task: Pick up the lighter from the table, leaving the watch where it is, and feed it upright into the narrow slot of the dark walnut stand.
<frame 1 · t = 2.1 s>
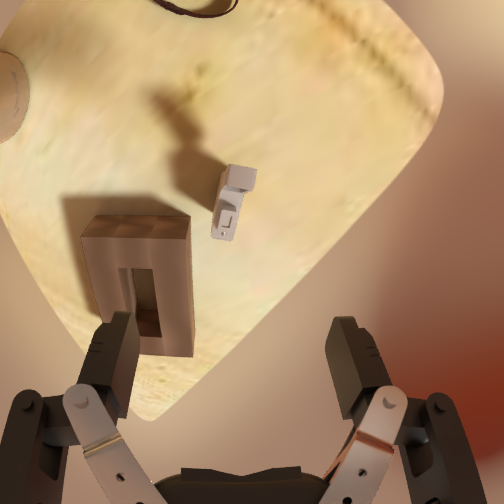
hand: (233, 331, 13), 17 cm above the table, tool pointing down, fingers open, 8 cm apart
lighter: (230, 177, 27), on the table
slot stand: (148, 279, 32), on the table
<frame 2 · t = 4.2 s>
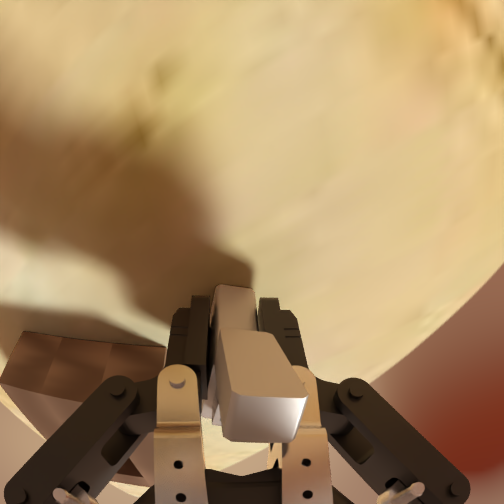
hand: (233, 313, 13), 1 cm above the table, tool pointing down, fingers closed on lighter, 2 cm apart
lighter: (233, 293, 15), on the table, touching gripper
slot stand: (116, 407, 19), on the table
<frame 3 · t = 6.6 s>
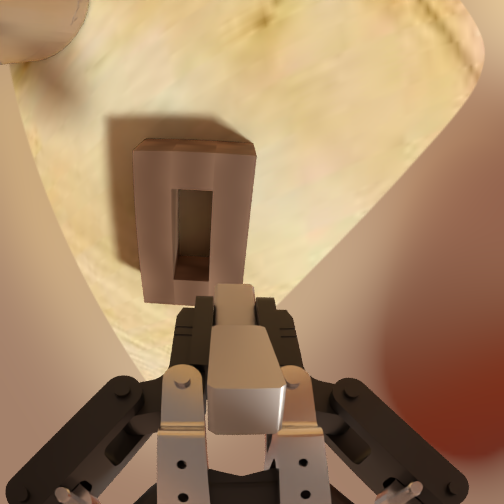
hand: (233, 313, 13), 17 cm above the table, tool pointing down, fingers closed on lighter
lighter: (233, 291, 15), point 15 cm above the table, touching gripper
slot stand: (195, 217, 30), on the table
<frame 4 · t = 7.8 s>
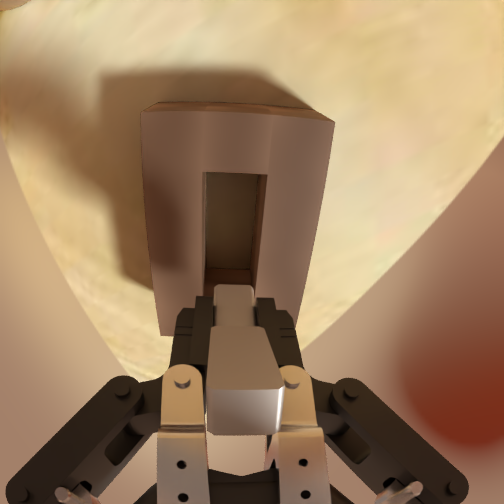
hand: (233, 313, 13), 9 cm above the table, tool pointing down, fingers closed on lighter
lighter: (233, 292, 15), point 8 cm above the table, touching gripper
slot stand: (230, 215, 21), on the table
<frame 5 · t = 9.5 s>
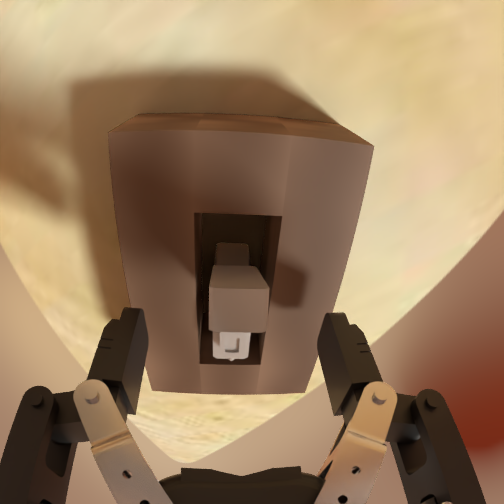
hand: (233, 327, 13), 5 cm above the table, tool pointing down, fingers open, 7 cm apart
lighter: (232, 250, 17), resting in slot stand
slot stand: (232, 254, 17), on the table
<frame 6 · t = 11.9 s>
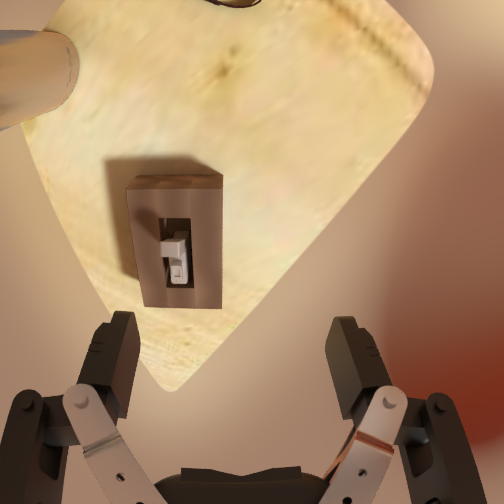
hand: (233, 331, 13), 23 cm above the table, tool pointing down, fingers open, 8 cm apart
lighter: (182, 234, 36), resting in slot stand
slot stand: (182, 236, 36), on the table
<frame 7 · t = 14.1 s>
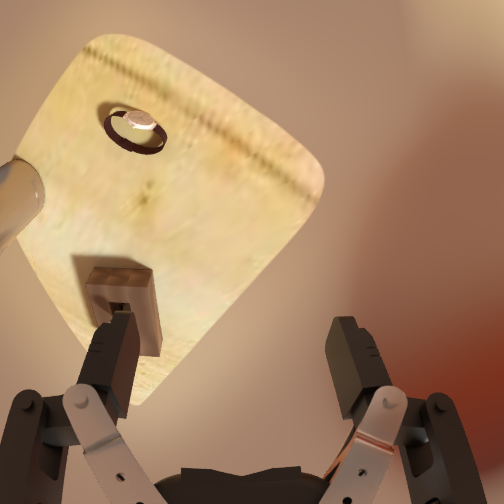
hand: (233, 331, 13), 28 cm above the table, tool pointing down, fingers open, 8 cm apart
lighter: (130, 304, 48), resting in slot stand
slot stand: (129, 306, 48), on the table
watch: (138, 129, 34), on the table
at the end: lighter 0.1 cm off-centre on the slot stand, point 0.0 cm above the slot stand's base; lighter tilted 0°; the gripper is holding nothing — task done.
